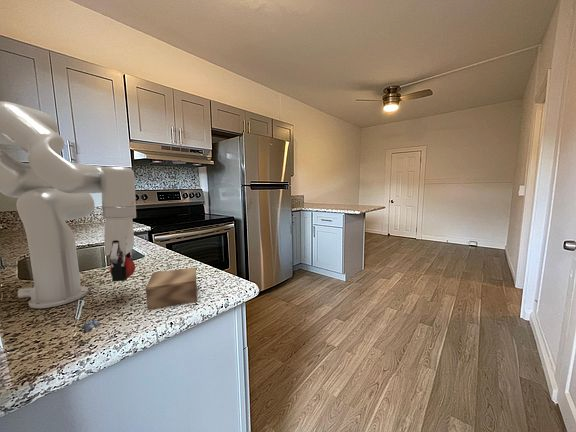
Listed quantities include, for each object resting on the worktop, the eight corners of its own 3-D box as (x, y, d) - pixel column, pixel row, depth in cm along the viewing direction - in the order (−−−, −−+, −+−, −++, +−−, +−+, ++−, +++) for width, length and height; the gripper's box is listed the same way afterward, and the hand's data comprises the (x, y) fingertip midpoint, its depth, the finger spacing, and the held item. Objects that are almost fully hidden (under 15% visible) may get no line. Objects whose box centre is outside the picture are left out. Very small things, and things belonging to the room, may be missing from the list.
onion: (123, 286, 66) (121, 257, 65) (105, 283, 67) (103, 255, 66) (140, 278, 72) (139, 251, 71) (123, 276, 73) (122, 250, 72)
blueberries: (67, 344, 51) (66, 336, 51) (69, 325, 57) (68, 317, 57) (107, 332, 56) (106, 324, 55) (104, 315, 62) (104, 308, 61)
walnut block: (147, 309, 64) (145, 287, 63) (154, 291, 75) (153, 272, 74) (196, 301, 68) (195, 280, 67) (196, 285, 79) (195, 267, 78)
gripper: (113, 209, 74) (116, 267, 76) (90, 217, 58) (95, 290, 60) (142, 209, 76) (144, 265, 78) (127, 216, 60) (131, 286, 62)
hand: (123, 275), depth 69 cm, fingers closed on onion, 5 cm apart
